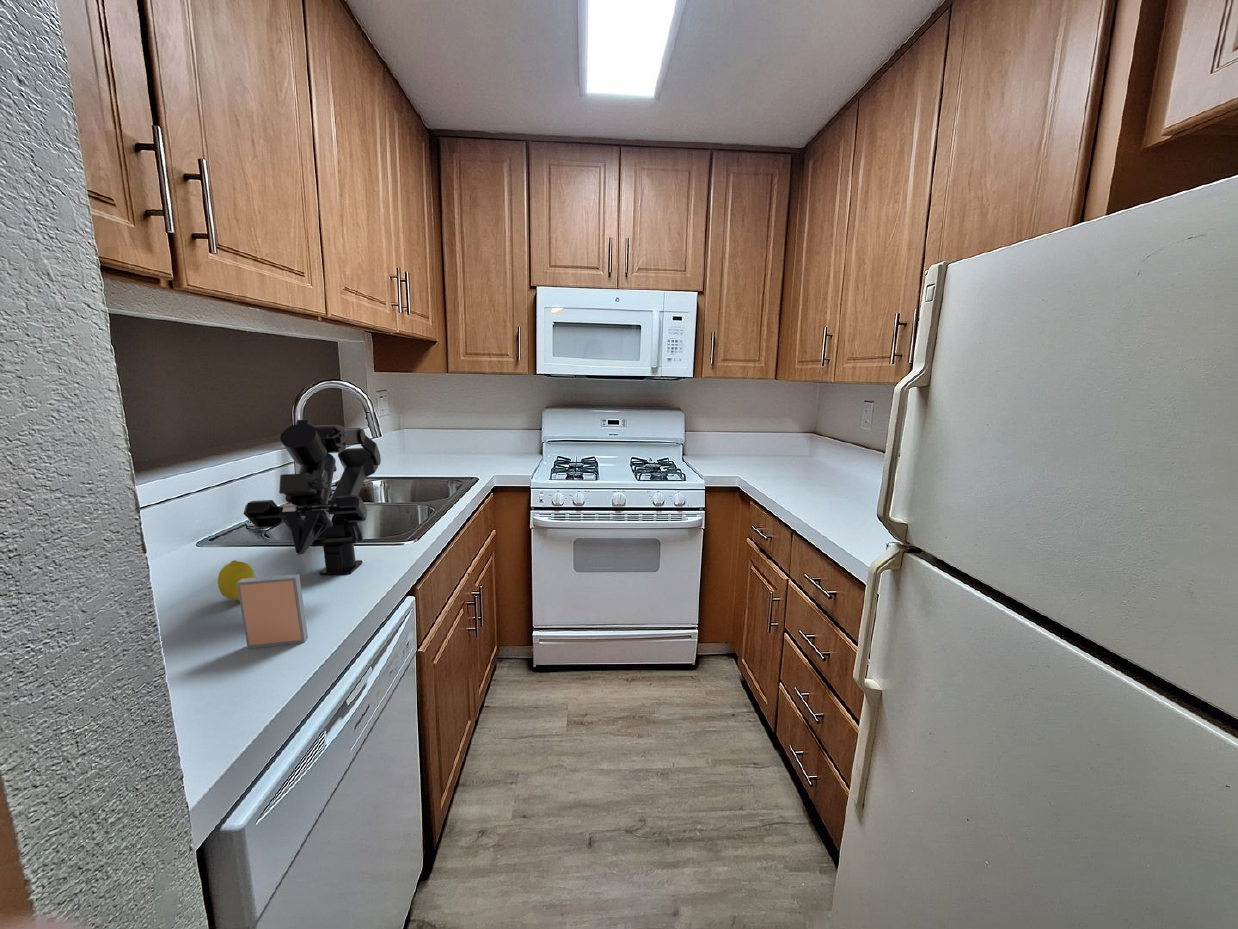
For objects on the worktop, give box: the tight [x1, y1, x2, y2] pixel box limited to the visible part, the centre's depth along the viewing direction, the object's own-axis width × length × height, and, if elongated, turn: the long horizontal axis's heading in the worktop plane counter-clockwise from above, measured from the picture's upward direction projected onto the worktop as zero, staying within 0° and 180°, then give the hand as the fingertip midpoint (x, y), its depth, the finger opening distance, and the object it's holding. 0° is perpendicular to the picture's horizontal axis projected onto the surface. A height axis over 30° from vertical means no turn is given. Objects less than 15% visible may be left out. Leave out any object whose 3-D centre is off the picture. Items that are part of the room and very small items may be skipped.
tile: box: [237, 573, 309, 649], centre depth 78 cm, size 2×8×11 cm, turn 102°
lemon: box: [217, 559, 256, 602], centre depth 92 cm, size 6×6×8 cm
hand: (299, 553), depth 87 cm, fingers closed
